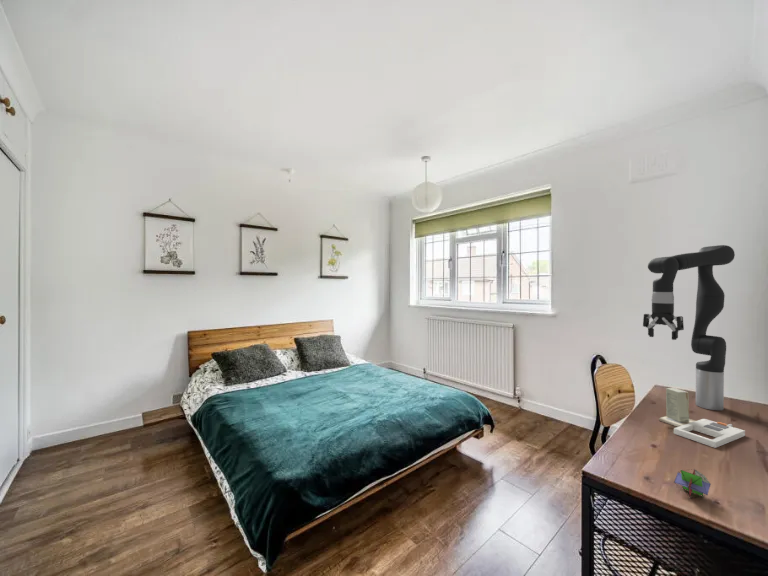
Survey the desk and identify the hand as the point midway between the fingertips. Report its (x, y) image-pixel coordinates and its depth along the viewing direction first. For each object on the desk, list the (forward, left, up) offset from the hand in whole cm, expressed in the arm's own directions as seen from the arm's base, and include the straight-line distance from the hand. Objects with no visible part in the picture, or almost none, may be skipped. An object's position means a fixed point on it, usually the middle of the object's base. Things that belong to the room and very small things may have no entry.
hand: (662, 338), depth 146 cm
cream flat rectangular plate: (+7, +9, -33) cm, 35 cm away
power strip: (+7, +20, -33) cm, 39 cm away
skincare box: (+7, +9, -32) cm, 34 cm away
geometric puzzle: (+60, +36, -33) cm, 78 cm away
